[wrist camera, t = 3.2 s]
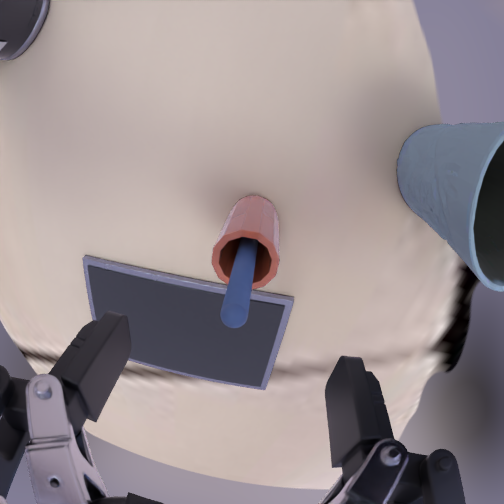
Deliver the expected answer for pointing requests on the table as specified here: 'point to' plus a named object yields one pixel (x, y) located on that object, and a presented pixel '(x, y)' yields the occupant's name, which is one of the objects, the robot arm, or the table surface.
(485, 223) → the blue-grey tapered bin
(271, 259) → the pen pot
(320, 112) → the table surface
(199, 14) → the table surface
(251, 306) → the tablet
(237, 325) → the stylus
